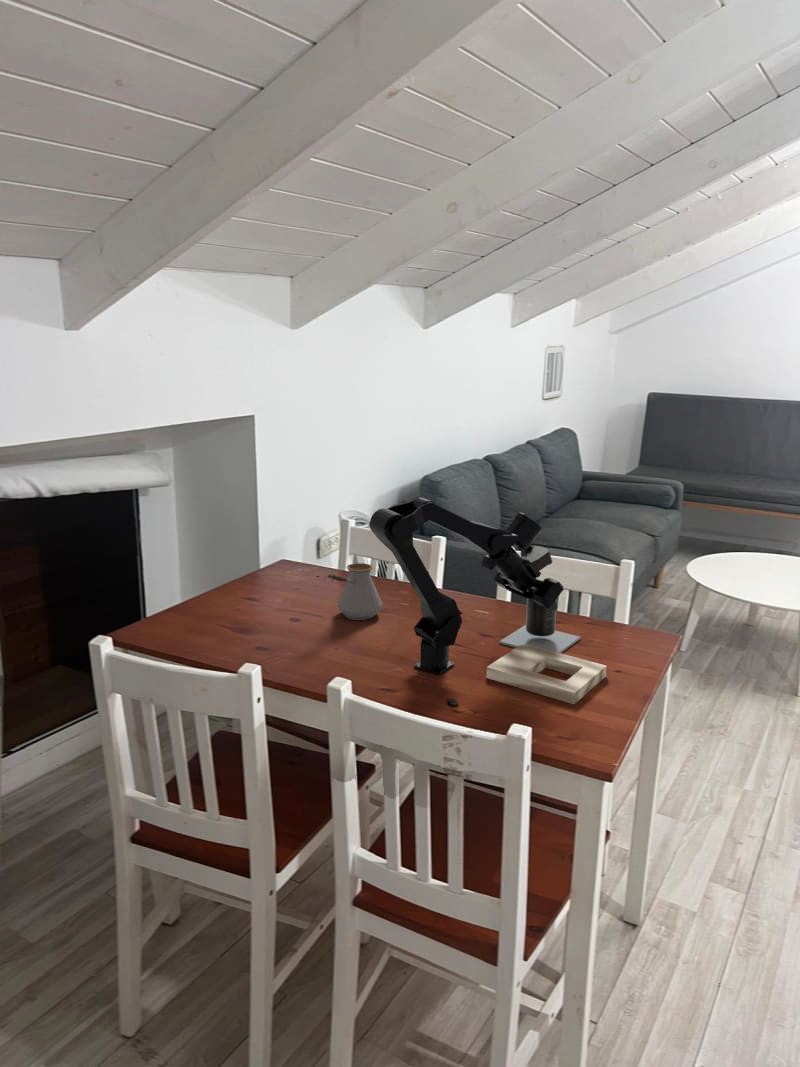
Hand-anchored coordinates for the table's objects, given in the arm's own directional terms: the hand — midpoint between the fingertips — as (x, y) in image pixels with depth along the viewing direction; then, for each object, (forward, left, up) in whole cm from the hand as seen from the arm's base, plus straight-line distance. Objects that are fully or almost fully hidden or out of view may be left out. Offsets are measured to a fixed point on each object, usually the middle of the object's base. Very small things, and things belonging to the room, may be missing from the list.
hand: (546, 604), depth 189 cm
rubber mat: (-1, 0, -9) cm, 9 cm away
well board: (-18, -10, -9) cm, 22 cm away
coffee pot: (-18, +44, -9) cm, 49 cm away
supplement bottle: (-1, +1, -7) cm, 7 cm away
